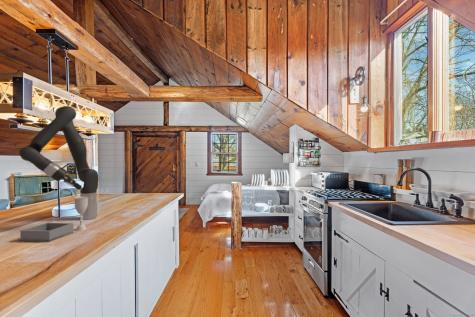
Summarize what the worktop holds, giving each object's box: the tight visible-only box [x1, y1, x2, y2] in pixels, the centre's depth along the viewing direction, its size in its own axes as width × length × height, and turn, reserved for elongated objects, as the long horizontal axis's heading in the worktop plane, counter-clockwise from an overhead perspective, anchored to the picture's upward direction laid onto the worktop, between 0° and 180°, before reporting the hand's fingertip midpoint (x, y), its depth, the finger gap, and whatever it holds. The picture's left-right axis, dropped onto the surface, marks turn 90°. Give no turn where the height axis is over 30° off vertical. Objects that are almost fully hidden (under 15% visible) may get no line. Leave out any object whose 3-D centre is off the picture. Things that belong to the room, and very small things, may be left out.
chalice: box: [73, 196, 89, 231], centre depth 136 cm, size 7×7×18 cm
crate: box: [19, 222, 74, 243], centre depth 123 cm, size 15×15×5 cm
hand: (80, 188), depth 147 cm, fingers open, 8 cm apart
